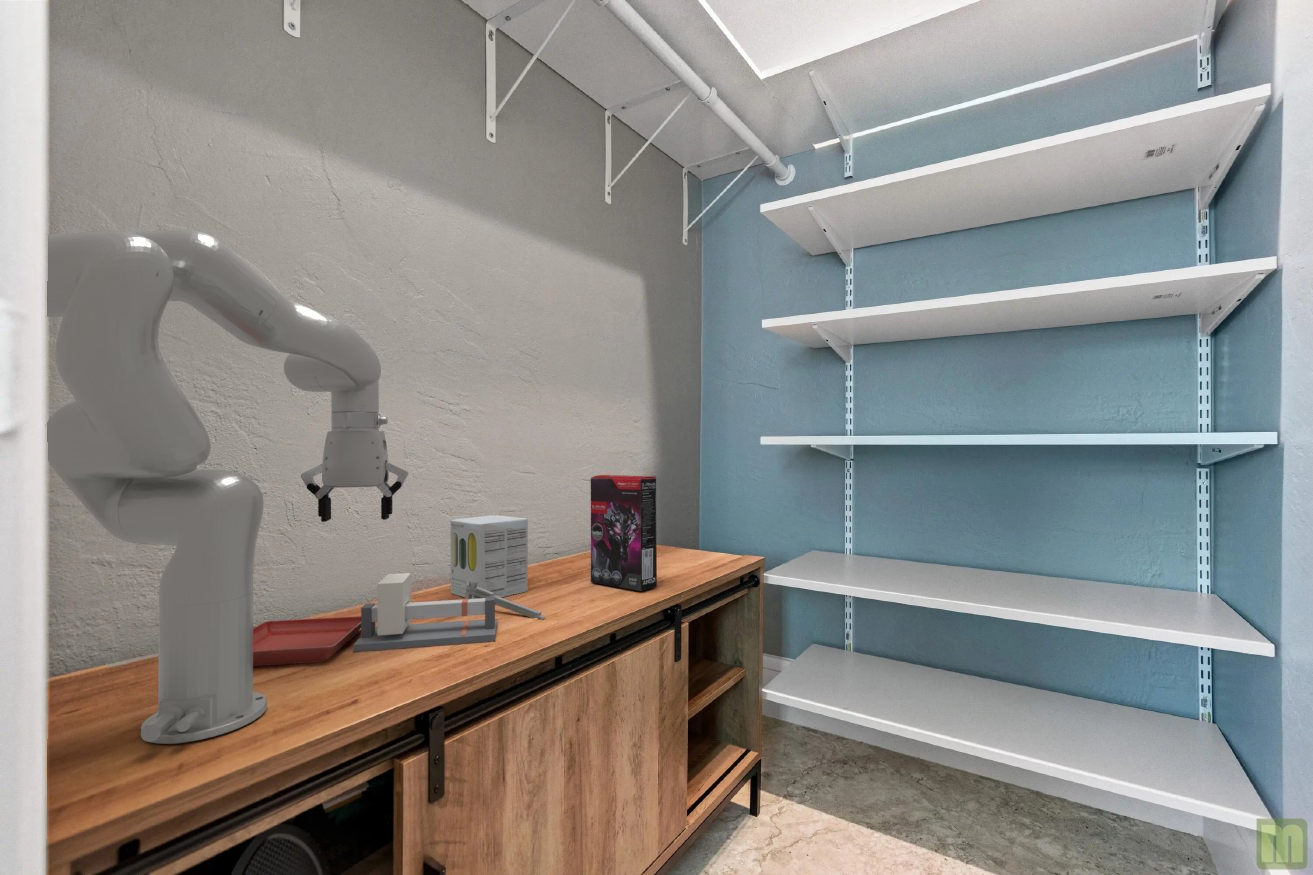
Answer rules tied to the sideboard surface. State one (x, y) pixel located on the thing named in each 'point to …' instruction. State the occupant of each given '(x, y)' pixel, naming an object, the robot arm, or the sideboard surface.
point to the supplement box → (490, 554)
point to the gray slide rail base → (431, 625)
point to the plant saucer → (301, 639)
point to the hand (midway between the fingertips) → (356, 519)
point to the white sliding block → (393, 603)
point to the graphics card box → (624, 531)
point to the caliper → (500, 601)
